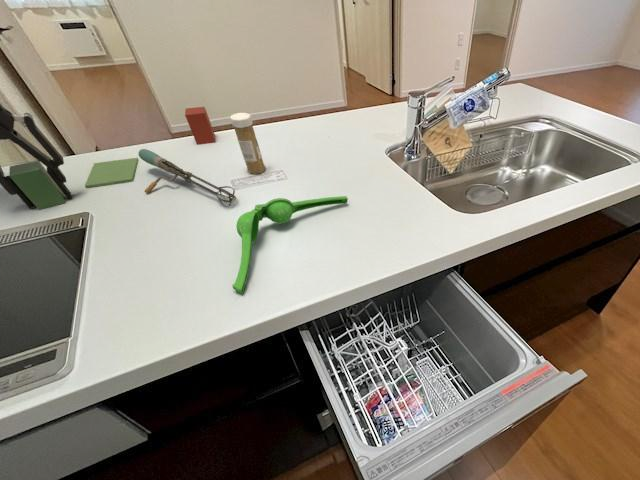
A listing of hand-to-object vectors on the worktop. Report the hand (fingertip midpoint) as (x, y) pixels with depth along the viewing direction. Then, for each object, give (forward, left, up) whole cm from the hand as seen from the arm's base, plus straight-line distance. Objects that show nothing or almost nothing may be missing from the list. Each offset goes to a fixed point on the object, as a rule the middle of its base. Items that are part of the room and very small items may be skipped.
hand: (50, 200), depth 78 cm
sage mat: (-10, +11, 0) cm, 15 cm away
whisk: (+5, +27, -1) cm, 27 cm away
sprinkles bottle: (0, +45, -1) cm, 45 cm away
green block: (0, 0, 0) cm, 0 cm away
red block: (-24, +33, 0) cm, 41 cm away
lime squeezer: (+30, +47, -1) cm, 56 cm away
